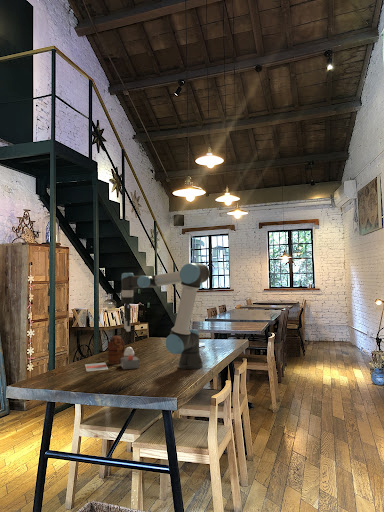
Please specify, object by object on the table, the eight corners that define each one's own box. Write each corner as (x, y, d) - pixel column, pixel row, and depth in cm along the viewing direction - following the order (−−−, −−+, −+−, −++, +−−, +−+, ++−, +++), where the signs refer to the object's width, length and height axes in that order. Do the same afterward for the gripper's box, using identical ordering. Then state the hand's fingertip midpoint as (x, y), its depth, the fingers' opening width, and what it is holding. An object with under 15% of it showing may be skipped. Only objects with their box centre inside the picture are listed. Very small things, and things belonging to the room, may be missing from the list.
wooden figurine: (114, 364, 247) (113, 337, 248) (107, 364, 250) (106, 336, 251) (126, 361, 257) (126, 334, 258) (119, 360, 260) (119, 334, 261)
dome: (135, 355, 239) (134, 347, 239) (124, 356, 237) (124, 348, 237) (133, 354, 245) (133, 345, 246) (123, 355, 243) (123, 346, 244)
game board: (108, 369, 233) (108, 368, 233) (86, 371, 229) (86, 371, 229) (105, 362, 254) (105, 362, 254) (85, 364, 250) (85, 364, 250)
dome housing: (139, 367, 235) (139, 355, 236) (123, 369, 232) (123, 357, 232) (136, 364, 246) (135, 352, 247) (120, 365, 243) (120, 354, 244)
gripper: (120, 296, 255) (119, 327, 254) (123, 297, 231) (122, 332, 229) (131, 296, 257) (131, 327, 255) (135, 297, 233) (135, 332, 231)
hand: (127, 330), depth 242 cm, fingers open, 13 cm apart
